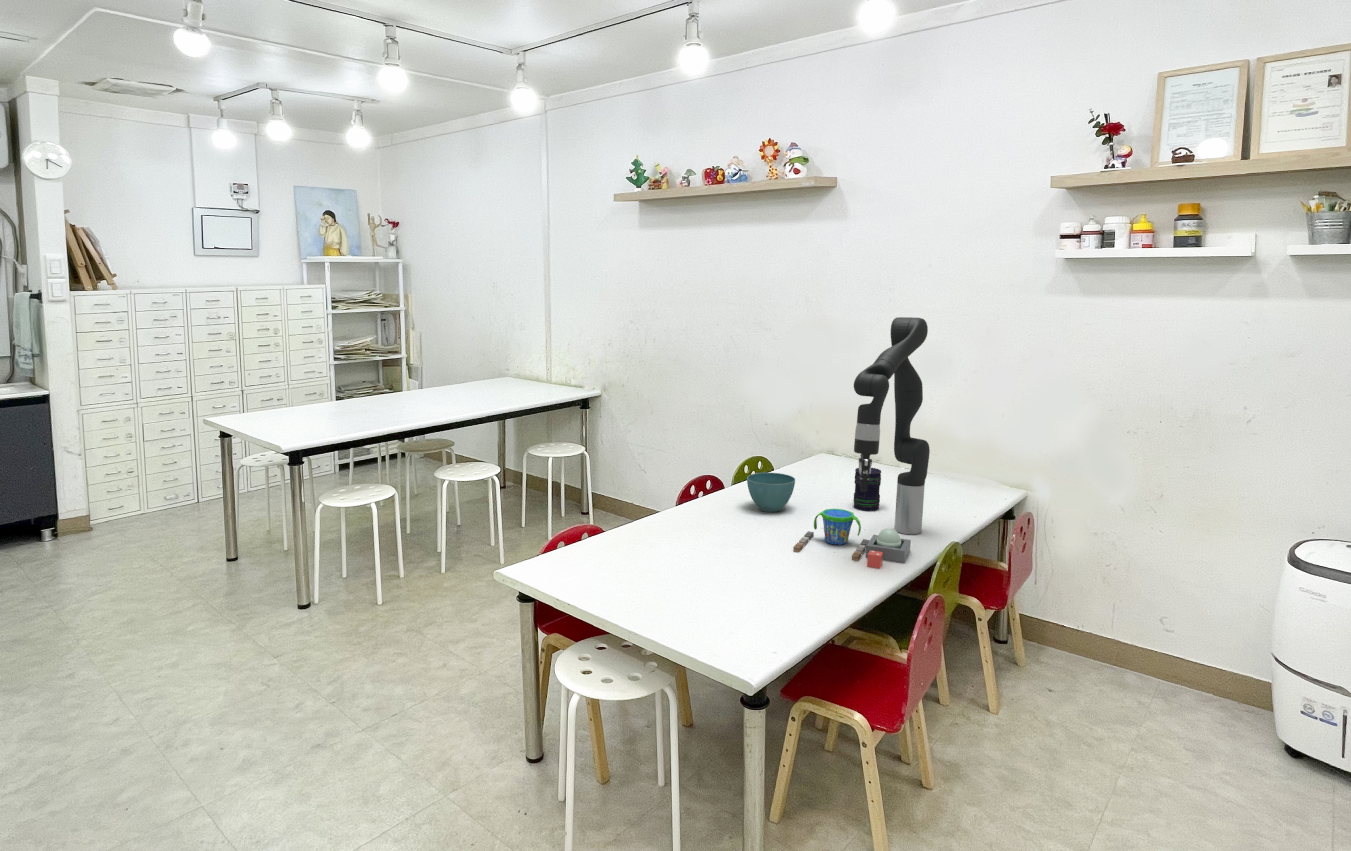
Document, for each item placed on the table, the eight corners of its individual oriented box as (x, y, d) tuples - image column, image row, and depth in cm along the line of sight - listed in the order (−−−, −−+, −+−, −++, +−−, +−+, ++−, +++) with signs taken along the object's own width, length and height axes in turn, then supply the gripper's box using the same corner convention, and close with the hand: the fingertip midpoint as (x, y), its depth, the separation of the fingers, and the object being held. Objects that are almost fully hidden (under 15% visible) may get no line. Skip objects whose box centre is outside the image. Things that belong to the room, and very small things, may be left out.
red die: (869, 562, 255) (870, 549, 254) (882, 564, 253) (883, 551, 253) (866, 566, 251) (867, 553, 251) (880, 568, 250) (880, 555, 249)
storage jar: (851, 510, 311) (853, 472, 308) (854, 503, 320) (856, 466, 317) (878, 512, 308) (880, 474, 305) (880, 505, 317) (882, 468, 314)
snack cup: (863, 541, 275) (865, 512, 273) (854, 550, 266) (855, 520, 264) (819, 533, 282) (820, 505, 280) (808, 542, 273) (810, 513, 271)
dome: (878, 545, 267) (879, 524, 266) (902, 548, 264) (903, 527, 263) (874, 552, 260) (875, 530, 259) (898, 555, 257) (899, 533, 256)
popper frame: (872, 546, 270) (873, 534, 269) (909, 551, 265) (910, 539, 264) (865, 557, 259) (866, 545, 259) (904, 563, 254) (904, 551, 254)
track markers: (807, 535, 280) (808, 531, 280) (869, 544, 272) (869, 539, 272) (793, 551, 264) (793, 546, 264) (857, 561, 256) (858, 556, 256)
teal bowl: (737, 505, 315) (738, 474, 313) (777, 500, 323) (778, 470, 321) (761, 518, 299) (762, 486, 297) (803, 512, 307) (804, 481, 304)
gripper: (880, 441, 245) (876, 494, 247) (878, 436, 259) (874, 486, 261) (855, 439, 246) (851, 492, 248) (854, 434, 260) (850, 484, 262)
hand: (862, 489), depth 254 cm, fingers open, 8 cm apart
